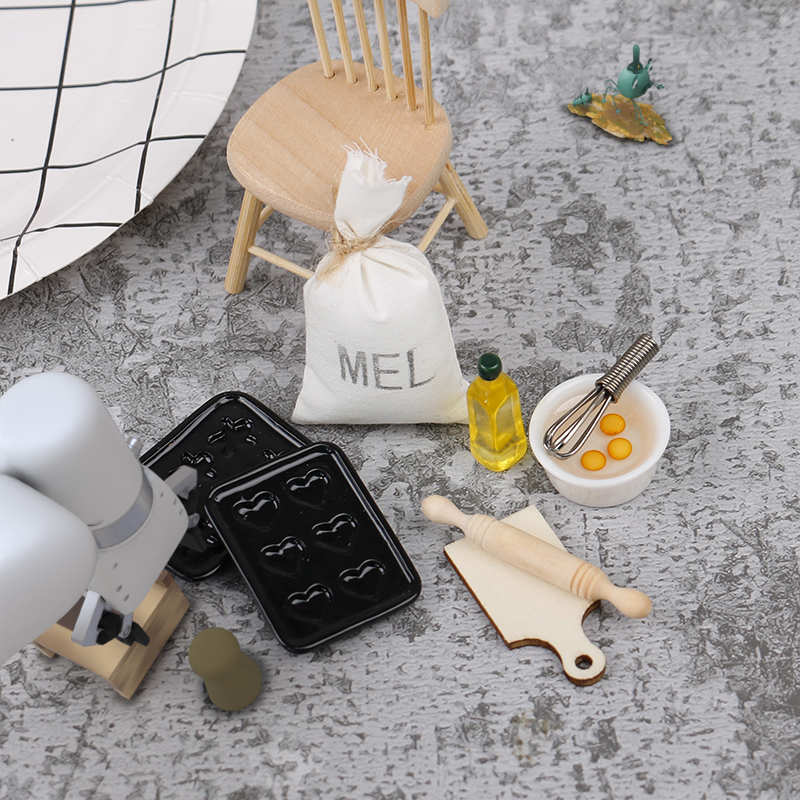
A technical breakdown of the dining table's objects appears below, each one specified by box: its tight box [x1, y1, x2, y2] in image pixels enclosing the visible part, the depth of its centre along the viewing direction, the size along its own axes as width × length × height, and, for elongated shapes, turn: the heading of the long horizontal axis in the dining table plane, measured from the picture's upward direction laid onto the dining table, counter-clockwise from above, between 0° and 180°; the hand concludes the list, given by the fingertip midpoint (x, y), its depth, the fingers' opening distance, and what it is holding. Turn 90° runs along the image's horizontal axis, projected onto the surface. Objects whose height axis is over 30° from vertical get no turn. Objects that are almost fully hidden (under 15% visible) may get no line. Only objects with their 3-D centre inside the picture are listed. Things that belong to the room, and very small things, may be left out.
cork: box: [187, 626, 263, 712], centre depth 98 cm, size 6×6×11 cm
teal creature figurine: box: [566, 43, 673, 145], centre depth 144 cm, size 10×18×15 cm, turn 49°
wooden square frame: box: [30, 568, 191, 700], centre depth 103 cm, size 12×12×9 cm
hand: (164, 589), depth 85 cm, fingers open, 9 cm apart
